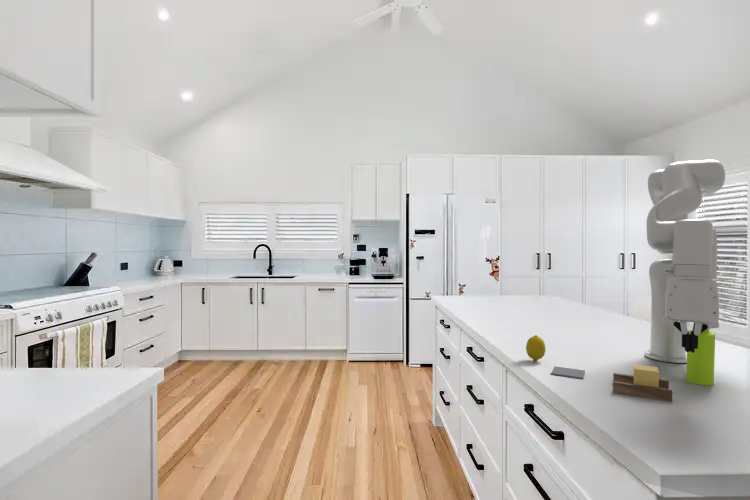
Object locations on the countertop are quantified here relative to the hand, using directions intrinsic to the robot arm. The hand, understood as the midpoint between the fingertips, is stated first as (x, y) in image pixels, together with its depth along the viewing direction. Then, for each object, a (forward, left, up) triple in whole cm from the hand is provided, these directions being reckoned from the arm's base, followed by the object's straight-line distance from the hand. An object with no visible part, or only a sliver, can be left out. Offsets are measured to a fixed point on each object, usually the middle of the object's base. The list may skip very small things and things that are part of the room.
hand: (689, 351), depth 104 cm
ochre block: (-1, -9, -11) cm, 14 cm away
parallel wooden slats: (-1, -10, -11) cm, 15 cm away
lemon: (-17, -37, -12) cm, 42 cm away
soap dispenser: (-19, +4, -12) cm, 22 cm away
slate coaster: (-8, -27, -11) cm, 30 cm away
